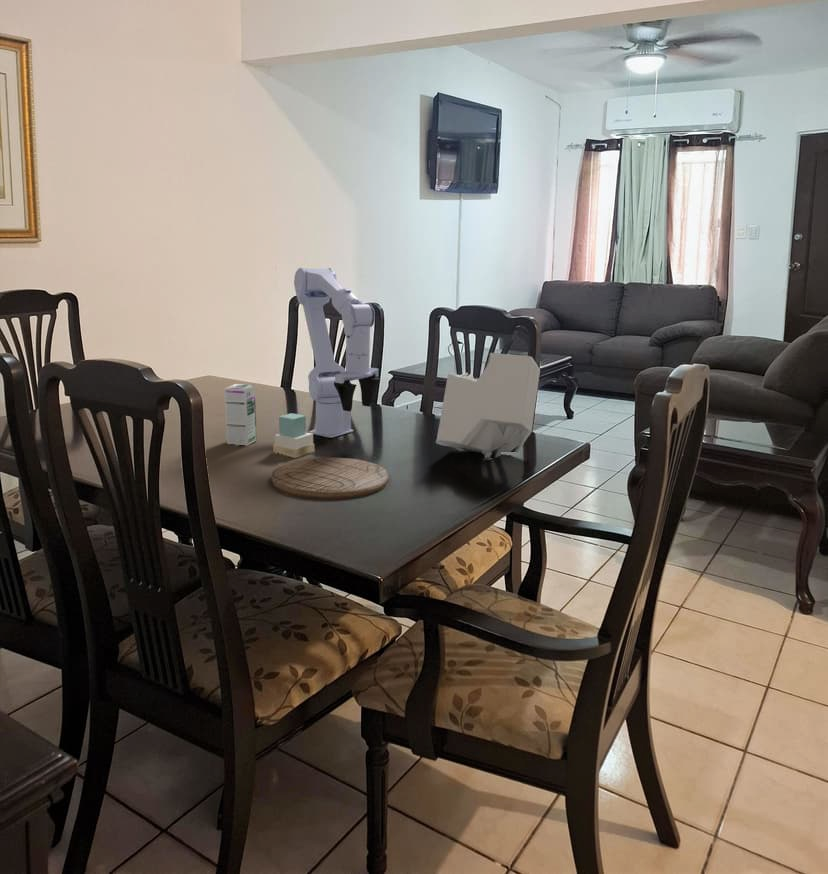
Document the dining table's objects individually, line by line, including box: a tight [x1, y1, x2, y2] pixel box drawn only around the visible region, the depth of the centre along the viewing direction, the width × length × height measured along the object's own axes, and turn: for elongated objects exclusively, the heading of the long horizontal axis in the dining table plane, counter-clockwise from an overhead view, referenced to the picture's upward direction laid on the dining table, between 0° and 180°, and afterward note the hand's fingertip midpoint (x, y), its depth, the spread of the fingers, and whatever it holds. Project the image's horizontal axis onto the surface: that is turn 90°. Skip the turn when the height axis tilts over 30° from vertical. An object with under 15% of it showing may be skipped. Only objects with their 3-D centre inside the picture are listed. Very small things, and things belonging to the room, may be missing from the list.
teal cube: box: [278, 412, 307, 438], centre depth 188 cm, size 4×4×4 cm
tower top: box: [274, 432, 314, 449], centre depth 189 cm, size 6×6×2 cm
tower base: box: [272, 443, 316, 459], centre depth 189 cm, size 7×7×2 cm
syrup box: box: [224, 383, 258, 447], centre depth 195 cm, size 6×6×14 cm
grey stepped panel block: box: [435, 352, 541, 459], centre depth 188 cm, size 20×16×25 cm
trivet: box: [271, 457, 389, 500], centre depth 169 cm, size 25×25×2 cm
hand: (356, 408), depth 194 cm, fingers open, 7 cm apart
